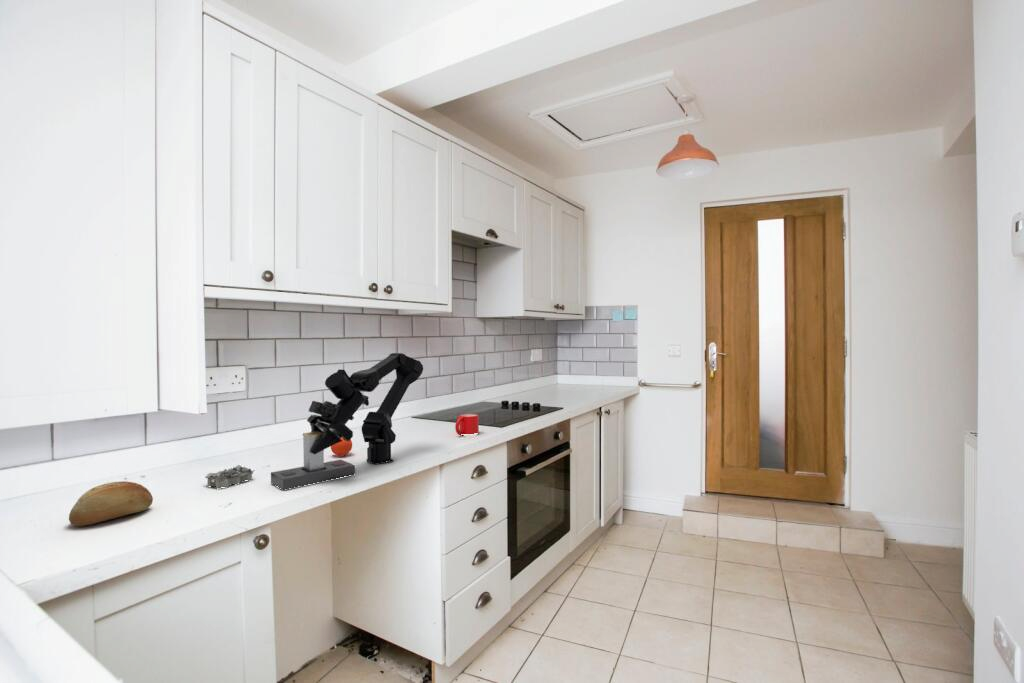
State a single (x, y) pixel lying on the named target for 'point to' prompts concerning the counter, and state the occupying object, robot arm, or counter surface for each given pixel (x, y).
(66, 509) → the counter surface
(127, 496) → the bread roll
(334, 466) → the rack rail
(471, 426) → the mug
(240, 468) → the egg carton
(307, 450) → the square bar
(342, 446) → the clementine
